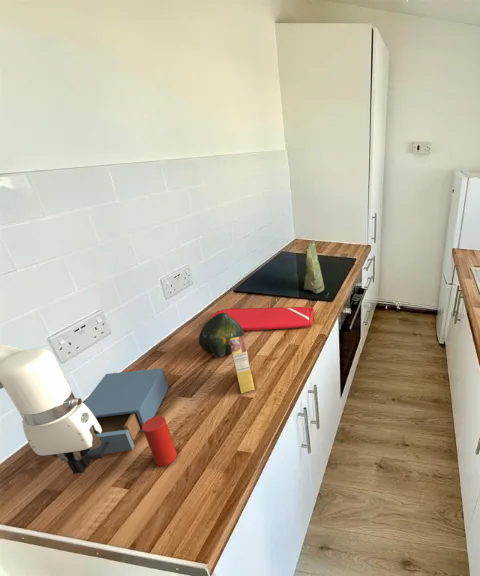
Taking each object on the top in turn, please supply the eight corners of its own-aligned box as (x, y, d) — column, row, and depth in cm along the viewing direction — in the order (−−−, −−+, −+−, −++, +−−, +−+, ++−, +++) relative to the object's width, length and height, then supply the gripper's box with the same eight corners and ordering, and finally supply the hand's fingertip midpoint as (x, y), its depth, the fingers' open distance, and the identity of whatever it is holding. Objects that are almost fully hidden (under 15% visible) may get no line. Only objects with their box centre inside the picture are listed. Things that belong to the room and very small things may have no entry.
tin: (152, 468, 77) (138, 432, 72) (159, 451, 81) (146, 417, 76) (173, 464, 78) (161, 429, 73) (179, 448, 82) (167, 414, 77)
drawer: (124, 465, 77) (117, 448, 74) (56, 476, 74) (46, 458, 71) (156, 403, 94) (151, 388, 91) (102, 410, 91) (95, 394, 88)
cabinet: (146, 430, 86) (138, 410, 83) (82, 439, 83) (71, 418, 80) (168, 387, 101) (162, 368, 98) (114, 393, 97) (106, 373, 94)
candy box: (236, 376, 107) (229, 338, 100) (250, 373, 108) (244, 334, 102) (239, 394, 100) (232, 354, 93) (254, 390, 101) (248, 350, 95)
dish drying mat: (218, 313, 141) (216, 306, 140) (314, 311, 147) (313, 304, 145) (205, 333, 127) (203, 325, 126) (311, 330, 133) (311, 322, 131)
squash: (193, 356, 106) (220, 319, 107) (188, 335, 117) (213, 301, 118) (232, 369, 115) (257, 334, 116) (224, 348, 127) (247, 317, 127)
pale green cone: (310, 296, 160) (307, 248, 149) (298, 288, 167) (294, 241, 156) (329, 290, 167) (328, 244, 156) (316, 282, 174) (314, 237, 163)
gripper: (103, 389, 69) (129, 447, 77) (18, 398, 66) (54, 458, 74) (82, 416, 63) (112, 477, 71) (-14, 428, 59) (29, 490, 67)
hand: (82, 467), depth 72 cm, fingers closed
